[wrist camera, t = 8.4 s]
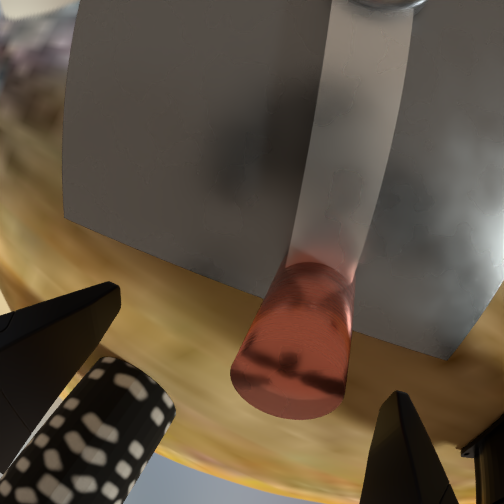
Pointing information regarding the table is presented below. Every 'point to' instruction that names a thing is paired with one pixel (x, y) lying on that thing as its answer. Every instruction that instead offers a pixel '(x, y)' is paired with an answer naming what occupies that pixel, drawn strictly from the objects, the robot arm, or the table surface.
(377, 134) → the lever
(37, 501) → the spotted tube
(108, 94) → the base
